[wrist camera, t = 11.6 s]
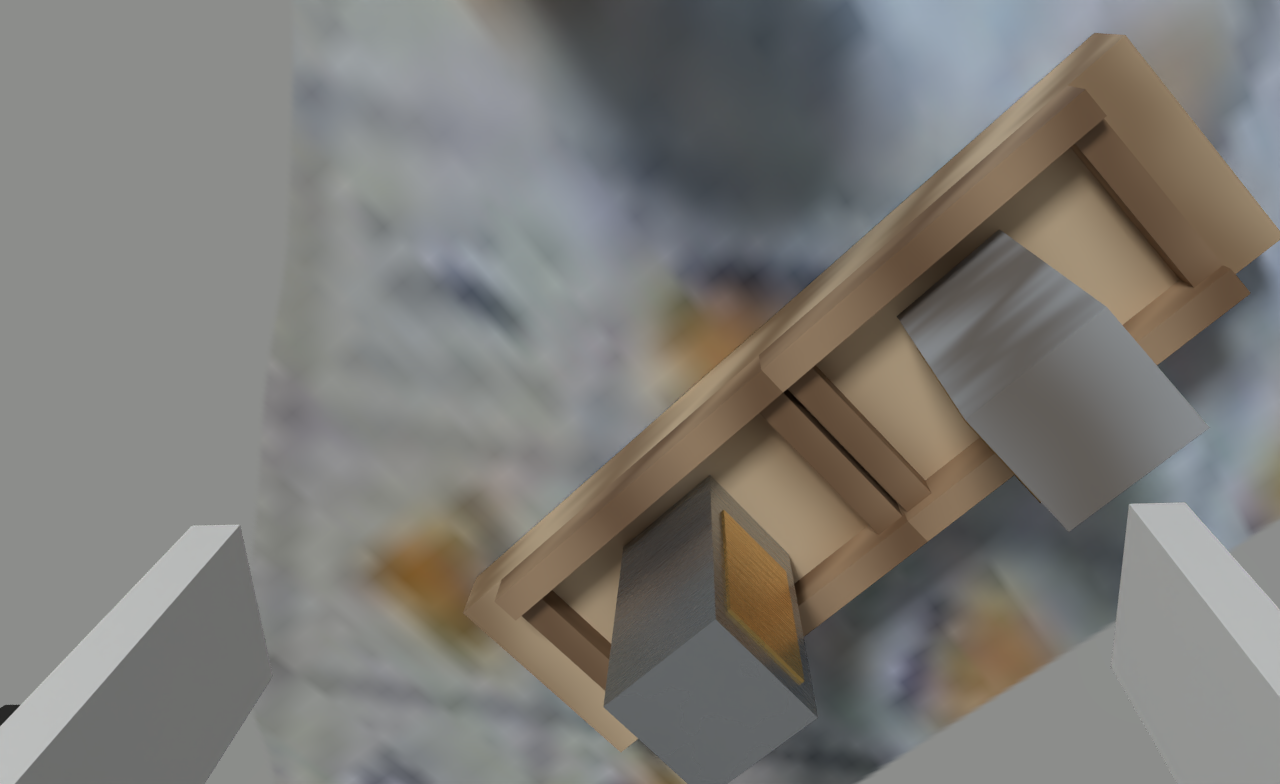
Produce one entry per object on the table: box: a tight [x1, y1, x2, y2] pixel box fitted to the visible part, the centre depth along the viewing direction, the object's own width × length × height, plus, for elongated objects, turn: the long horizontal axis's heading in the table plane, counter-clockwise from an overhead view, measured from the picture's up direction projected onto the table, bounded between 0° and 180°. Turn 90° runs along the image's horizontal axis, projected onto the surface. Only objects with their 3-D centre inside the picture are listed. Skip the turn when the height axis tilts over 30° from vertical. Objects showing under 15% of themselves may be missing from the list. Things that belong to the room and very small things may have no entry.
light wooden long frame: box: [463, 33, 1280, 752], centre depth 32 cm, size 28×8×12 cm, turn 134°
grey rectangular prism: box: [603, 475, 818, 784], centre depth 33 cm, size 4×4×9 cm
